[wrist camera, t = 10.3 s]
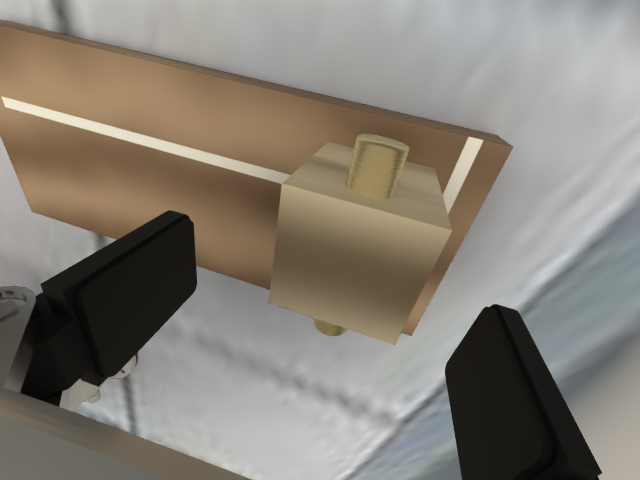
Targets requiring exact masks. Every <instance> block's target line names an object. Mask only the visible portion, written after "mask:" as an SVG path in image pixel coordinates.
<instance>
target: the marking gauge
mask: <svg viewBox="0 0 640 480" xmlns="http://www.w3.org/2000/svg"><path fill="white" fill-rule="evenodd" d="M408 152H409V147H408V146H407V145H405V144H404V143H401V142H399V141H397V140H394V139H390V138H387V137H383V136H378V135H371V134H360V135H358V136H357V139H356V143H355V147H354V148H352V147H348V146H344V145H340V144H336V143H332V142H327V143H326V144H325V145H324V146H323V147H322V148H321V149H320V150H318V151H317V152H316V153H315V154H314V155H313V156H312V157H311V158H310V159H308V160H307V161H306V162H305V163H304V164H303V165H302V166H301V167H300V168H298V169H297V170H296V171H295V172H294V173H293V174H292V175H291V176H290V177H288V178H287V179H286V180H285V181H284V182H283V183H282V187H281V196H280V205H279V214H278V223H277V232H276V241H275V250H274V258H273V267H272V276H271V285H270V294H269V303H271V304H274V305H277V306H280V307H283V308H286V309H289V310H292V311H295V312H298V313H301V314H304V315H307V316H310V317H313V321H314V324H315V326H316V328H317V329H318V330H319V331H321V332H322V333H324V334H326V335H330V336H338V335H341V334H343V333H344V332H346V330H347V329H349V330H352V331H355V332H358V333H361V334H364V335H367V336H370V337H373V338H376V339H379V340H382V341H385V342H388V343H391V344H394V345H395V343H396V341H397V339H398V337H399V335H400V334H401V332H402V330H403V328H404V326H405V324H406V322H407V320H408V318H409V316H410V314H411V312H412V310H413V308H414V306H415V304H416V302H417V300H418V298H419V296H420V294H421V292H422V290H423V288H424V286H425V284H426V282H427V280H428V278H429V276H430V274H431V272H432V270H433V268H434V266H435V264H436V262H437V260H438V258H439V256H440V254H441V252H442V250H443V248H444V246H445V244H446V242H447V240H448V238H449V236H450V234H451V232H452V228H451V224H450V221H449V217H448V213H447V210H446V206H445V203H444V199H443V195H442V192H441V188H440V185H439V181H438V177H437V174H436V170H435V168H431V167H428V166H424V165H420V164H416V163H412V162H408V161H405V160H406V157H407V154H408Z"/></svg>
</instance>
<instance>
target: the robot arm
mask: <svg viewBox="0 0 640 480" xmlns="http://www.w3.org/2000/svg"><path fill="white" fill-rule="evenodd" d="M40 285H41V287H42V289H43V292H42V293H41V294H39V295H37V296H36V295H35V294H34V292H33V291H32V290H30V289H28V288H25V287H18V286H8V287H0V480H251V479H249V478H246V477H243V476H241V475H238V474H236V473H233V472H230V471H228V470H225V469H222V468H220V467H217V466H215V465H212V464H209V463H207V462H204V461H202V460H199V459H196V458H194V457H191V456H189V455H186V454H183V453H181V452H178V451H175V450H173V449H170V448H167V447H165V446H162V445H159V444H157V443H154V442H152V441H149V440H146V439H144V438H141V437H138V436H136V435H133V434H130V433H128V432H125V431H122V430H120V429H117V428H114V427H112V426H109V425H106V424H104V423H101V422H98V421H96V420H93V419H91V418H88V417H85V416H83V415H80V414H77V413H75V412H73V411H74V410H75V409H76V408H77V407H78V406H79V405H80V404H81V403H82V402H83V401H84V402H86V401H87V400H88V401H89V402H90V403H94V402H97V401H98V400H99V399H100V398H101V392H100V390H99V388H100V387H101V386H102V385H103V384H104V383H105V382H106V381H107V380H108V379H109V378H122V377H125V376H127V375H128V374H129V373H130V372H131V371H132V369H133V368H134V367H135V364H136V356H135V354H136V353H137V352H138V351H139V350H140V349H141V348H142V347H143V346H144V345H145V344H146V343H147V342H148V341H149V339H150V338H151V337H152V336H153V335H154V334H155V333H156V332H157V331H158V330H159V329H160V328H161V327H162V326H163V325H164V324H165V323H166V321H167V320H168V319H169V318H170V317H171V316H172V315H173V314H174V313H175V312H176V311H177V310H178V309H179V308H180V307H181V306H182V305H183V303H184V302H185V301H186V300H187V299H188V298H189V297H190V296H191V295H192V294H193V293H194V291H195V289H196V286H197V274H196V255H195V235H194V223H193V221H191V220H190V218H189V216H188V215H186V214H183V213H179V212H176V211H172V210H168V211H166V212H164V213H163V214H161V215H159V216H157V217H156V218H154V219H152V220H151V221H149V222H147V223H145V224H144V225H142V226H140V227H138V228H137V229H135V230H133V231H132V232H130V233H128V234H126V235H125V236H123V237H121V238H119V239H118V240H116V241H114V242H113V243H111V244H109V245H107V246H106V247H104V248H102V249H100V250H99V251H97V252H95V253H94V254H92V255H90V256H88V257H87V258H85V259H83V260H82V261H80V262H78V263H76V264H75V265H73V266H71V267H69V268H68V269H66V270H64V271H63V272H61V273H59V274H57V275H56V276H54V277H52V278H50V279H49V280H47V281H45V282H44V283H42V284H40ZM445 376H446V383H447V389H448V395H449V401H450V407H451V413H452V419H453V426H454V432H455V438H456V444H457V450H458V456H459V463H460V469H461V475H462V480H599V478H598V475H600V474H601V473H602V472H601V470H600V468H599V466H598V464H597V462H596V460H595V458H594V456H593V455H592V453H591V451H590V449H589V447H588V445H587V443H586V441H585V439H584V437H583V435H582V433H581V431H580V430H579V428H578V426H577V424H576V422H575V420H574V418H573V416H572V414H571V412H570V410H569V408H568V406H567V404H566V402H565V400H564V399H563V397H562V395H561V393H560V391H559V389H558V387H557V385H556V383H555V381H554V379H553V377H552V375H551V374H550V372H549V370H548V368H547V366H546V364H545V362H544V360H543V358H542V356H541V354H540V352H539V350H538V348H537V347H536V345H535V343H534V341H533V339H532V337H531V335H530V333H529V331H528V329H527V327H526V325H525V323H524V321H523V320H522V318H521V316H520V314H519V312H518V311H516V310H514V309H511V308H507V307H504V306H500V305H497V304H493V305H492V306H490V307H485V308H484V309H483V310H482V311H481V313H480V314H479V316H478V317H477V319H476V320H475V322H474V323H473V325H472V326H471V328H470V329H469V331H468V332H467V334H466V335H465V337H464V338H463V340H462V341H461V343H460V344H459V346H458V347H457V349H456V350H455V351H454V353H453V354H452V356H451V357H450V359H449V360H448V362H447V364H446V368H445Z"/></svg>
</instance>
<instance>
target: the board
mask: <svg viewBox="0 0 640 480" xmlns="http://www.w3.org/2000/svg"><path fill="white" fill-rule="evenodd" d="M360 134H371V135H378V136H383V137H387V138H390V139H394V140H397V141H399V142H401V143H404V144H405V145H407V146H408V147H409V152H408V154H407V157H406V160H405V161H408V162H412V163H416V164H420V165H424V166H428V167H431V168H435V170H436V174H437V177H438V181H439V185H440V188H441V192H442V195H443V199H444V203H445V206H446V210H447V213H448V217H449V221H450V224H451V228H452V232H451V234H450V236H449V238H448V240H447V242H446V244H445V246H444V248H443V250H442V252H441V254H440V256H439V258H438V260H437V262H436V264H435V266H434V268H433V270H432V272H431V274H430V276H429V278H428V280H427V282H426V284H425V286H424V288H423V290H422V292H421V294H420V296H419V298H418V300H417V302H416V304H415V306H414V308H413V310H412V312H411V314H410V316H409V318H408V320H407V322H406V324H405V326H404V328H403V330H402V332H401V333H404V334H407V335H410V336H412V334H413V332H414V330H415V328H416V326H417V325H418V323H419V321H420V319H421V317H422V315H423V313H424V312H425V310H426V308H427V306H428V304H429V302H430V300H431V299H432V297H433V295H434V293H435V291H436V289H437V287H438V286H439V284H440V282H441V280H442V278H443V276H444V274H445V273H446V271H447V269H448V267H449V265H450V263H451V262H452V260H453V258H454V256H455V254H456V252H457V250H458V249H459V247H460V245H461V243H462V241H463V239H464V237H465V236H466V234H467V232H468V230H469V228H470V226H471V224H472V223H473V221H474V219H475V217H476V215H477V213H478V211H479V210H480V208H481V206H482V204H483V202H484V200H485V199H486V197H487V195H488V193H489V191H490V189H491V187H492V186H493V184H494V182H495V180H496V178H497V176H498V174H499V173H500V171H501V169H502V167H503V165H504V163H505V161H506V160H507V158H508V156H509V154H510V152H511V150H512V148H513V147H512V146H511V145H510V144H508V143H507V142H505V141H504V140H503V139H501V138H500V137H499V136H497V135H493V134H488V133H484V132H480V131H476V130H471V129H467V128H463V127H458V126H454V125H450V124H446V123H441V122H437V121H433V120H428V119H424V118H420V117H416V116H411V115H407V114H403V113H398V112H394V111H390V110H386V109H381V108H377V107H373V106H369V105H364V104H360V103H356V102H351V101H347V100H343V99H339V98H334V97H330V96H326V95H321V94H317V93H313V92H309V91H304V90H300V89H296V88H291V87H287V86H283V85H279V84H274V83H270V82H266V81H261V80H257V79H253V78H249V77H244V76H240V75H236V74H231V73H227V72H223V71H219V70H214V69H210V68H206V67H201V66H197V65H193V64H189V63H184V62H180V61H176V60H171V59H167V58H163V57H159V56H154V55H150V54H146V53H141V52H137V51H133V50H129V49H124V48H120V47H116V46H111V45H107V44H103V43H99V42H94V41H90V40H86V39H81V38H77V37H73V36H69V35H64V34H60V33H56V32H51V31H47V30H43V29H39V28H34V27H30V26H26V25H21V24H17V23H13V22H9V21H4V20H0V136H1V138H2V141H3V143H4V146H5V148H6V150H7V153H8V155H9V158H10V160H11V163H12V165H13V167H14V170H15V172H16V175H17V177H18V179H19V182H20V184H21V187H22V189H23V192H24V194H25V196H26V199H27V201H28V204H29V206H30V208H31V211H32V212H34V213H38V214H41V215H44V216H47V217H50V218H53V219H56V220H59V221H62V222H65V223H68V224H71V225H74V226H77V227H80V228H83V229H86V230H89V231H92V232H95V233H99V234H102V235H105V236H108V237H111V238H114V239H117V240H118V239H119V238H121V237H123V236H125V235H126V234H128V233H130V232H132V231H133V230H135V229H137V228H138V227H140V226H142V225H144V224H145V223H147V222H149V221H151V220H152V219H154V218H156V217H157V216H159V215H161V214H163V213H164V212H166V211H168V210H172V211H176V212H179V213H183V214H186V215H188V216H189V218H190V220H191V221H193V223H194V235H195V255H196V266H199V267H202V268H205V269H208V270H211V271H214V272H217V273H221V274H224V275H227V276H230V277H233V278H236V279H239V280H242V281H245V282H248V283H251V284H254V285H257V286H260V287H263V288H266V289H269V290H270V285H271V276H272V267H273V258H274V250H275V241H276V232H277V223H278V214H279V205H280V196H281V187H282V183H283V182H284V181H285V180H286V179H287V178H288V177H290V176H291V175H292V174H293V173H294V172H295V171H296V170H297V169H298V168H300V167H301V166H302V165H303V164H304V163H305V162H306V161H307V160H308V159H310V158H311V157H312V156H313V155H314V154H315V153H316V152H317V151H318V150H320V149H321V148H322V147H323V146H324V145H325V144H326V143H327V142H332V143H336V144H340V145H344V146H348V147H352V148H354V147H355V143H356V139H357V136H358V135H360Z"/></svg>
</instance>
